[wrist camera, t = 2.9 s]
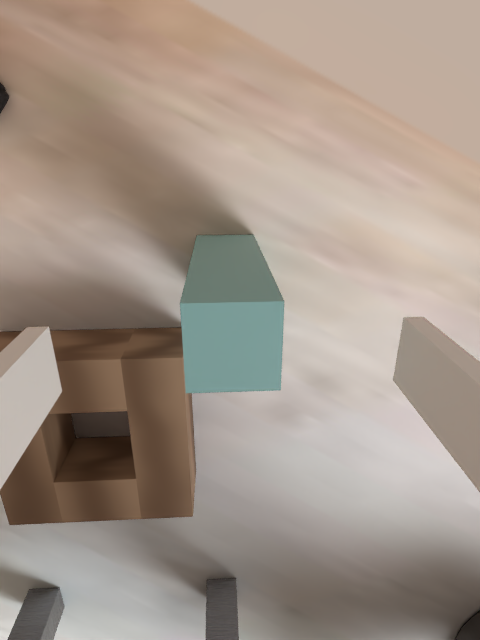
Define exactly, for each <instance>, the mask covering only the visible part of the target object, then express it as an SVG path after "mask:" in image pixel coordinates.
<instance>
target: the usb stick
mask: <svg viewBox="0 0 480 640" xmlns="http://www.w3.org/2000/svg"><path fill="white" fill-rule="evenodd" d="M5 91H6V90H5V87H4V86H3V85H2V84H1V83H0V113H1V112H2V110H3V108H4V107H5V105H6V103H7V101H8V98H9V95H8V94H7V93H6V92H5Z"/></svg>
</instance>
